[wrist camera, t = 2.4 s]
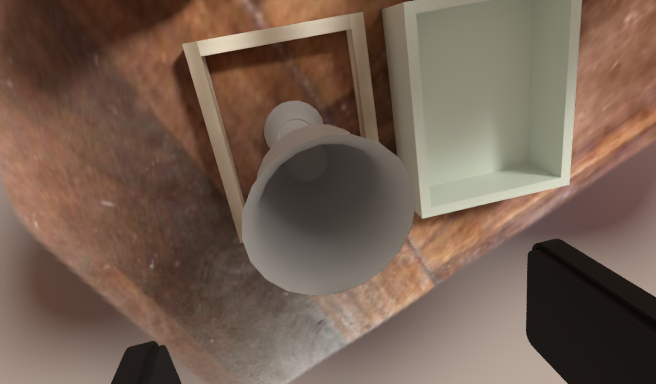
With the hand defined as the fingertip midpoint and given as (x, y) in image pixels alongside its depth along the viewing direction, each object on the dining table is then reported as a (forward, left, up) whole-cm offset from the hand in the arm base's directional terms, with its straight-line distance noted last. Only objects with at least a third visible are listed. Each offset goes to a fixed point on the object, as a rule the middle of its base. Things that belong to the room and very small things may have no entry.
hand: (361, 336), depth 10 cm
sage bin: (-15, 0, -24) cm, 29 cm away
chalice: (0, 0, -25) cm, 25 cm away
